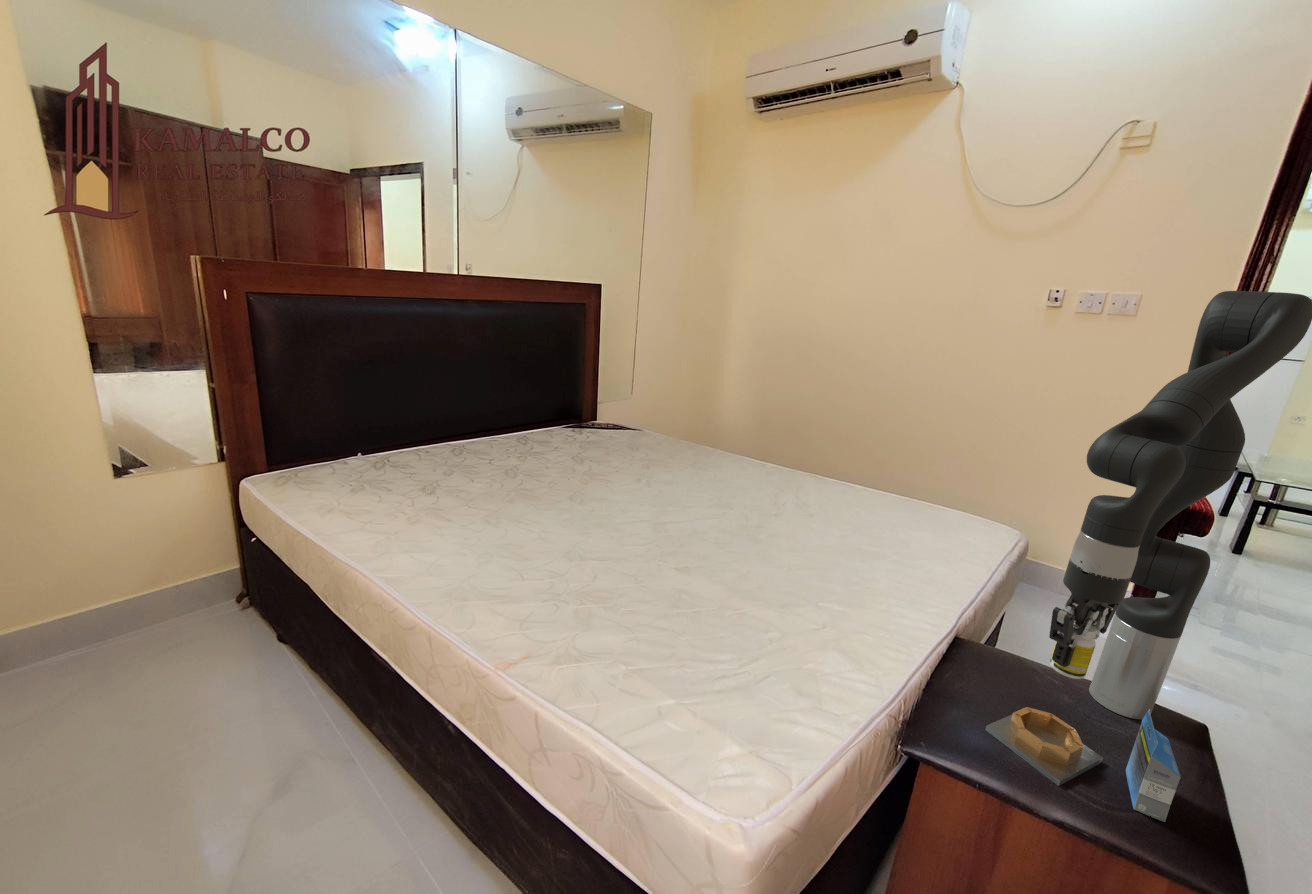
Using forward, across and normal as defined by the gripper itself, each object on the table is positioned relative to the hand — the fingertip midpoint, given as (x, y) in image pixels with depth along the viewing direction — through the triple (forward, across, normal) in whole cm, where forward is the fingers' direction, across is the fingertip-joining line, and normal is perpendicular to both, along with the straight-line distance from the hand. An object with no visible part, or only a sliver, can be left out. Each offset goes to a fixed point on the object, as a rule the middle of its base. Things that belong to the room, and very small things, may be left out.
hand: (1069, 659), depth 88 cm
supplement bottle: (+2, 0, 0) cm, 2 cm away
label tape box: (+17, -5, +12) cm, 22 cm away
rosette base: (+17, 0, 0) cm, 17 cm away
